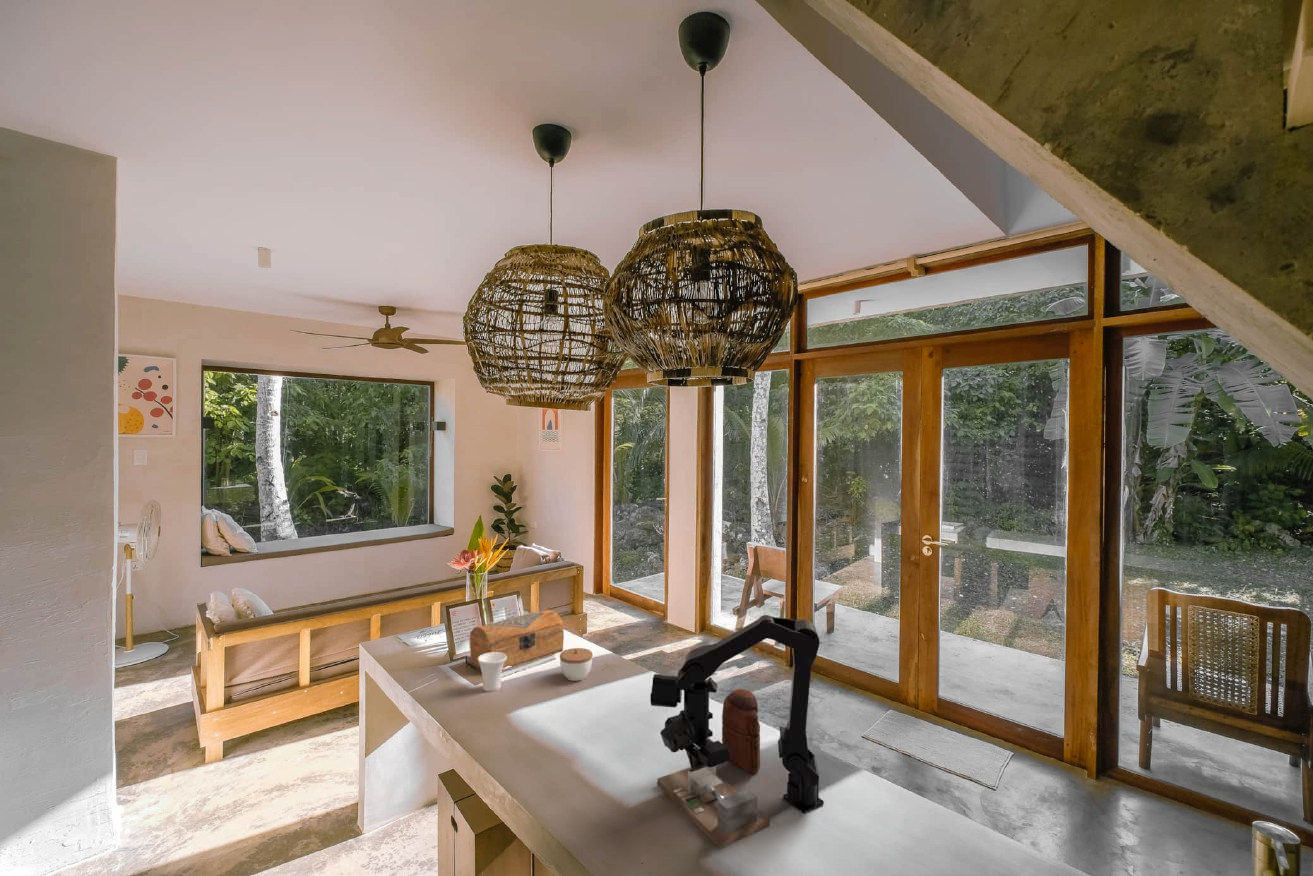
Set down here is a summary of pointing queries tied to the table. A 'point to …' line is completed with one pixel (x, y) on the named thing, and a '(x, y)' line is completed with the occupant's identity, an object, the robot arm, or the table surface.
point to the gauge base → (717, 810)
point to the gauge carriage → (704, 784)
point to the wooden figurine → (742, 729)
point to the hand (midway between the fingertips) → (696, 775)
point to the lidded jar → (576, 663)
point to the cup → (492, 669)
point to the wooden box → (519, 638)
